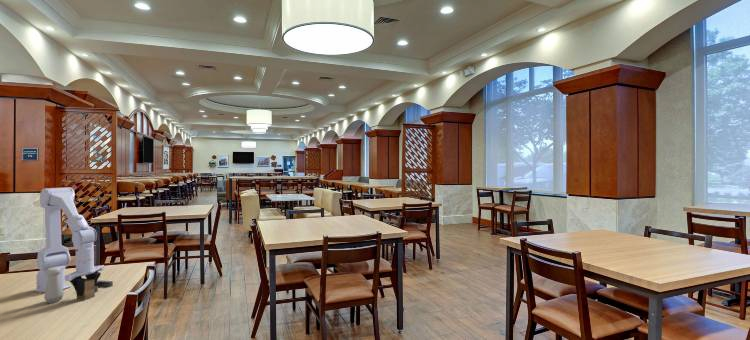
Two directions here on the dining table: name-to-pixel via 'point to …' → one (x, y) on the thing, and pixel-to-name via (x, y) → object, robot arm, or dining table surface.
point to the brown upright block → (88, 290)
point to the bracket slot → (103, 284)
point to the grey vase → (53, 286)
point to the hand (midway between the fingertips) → (85, 293)
